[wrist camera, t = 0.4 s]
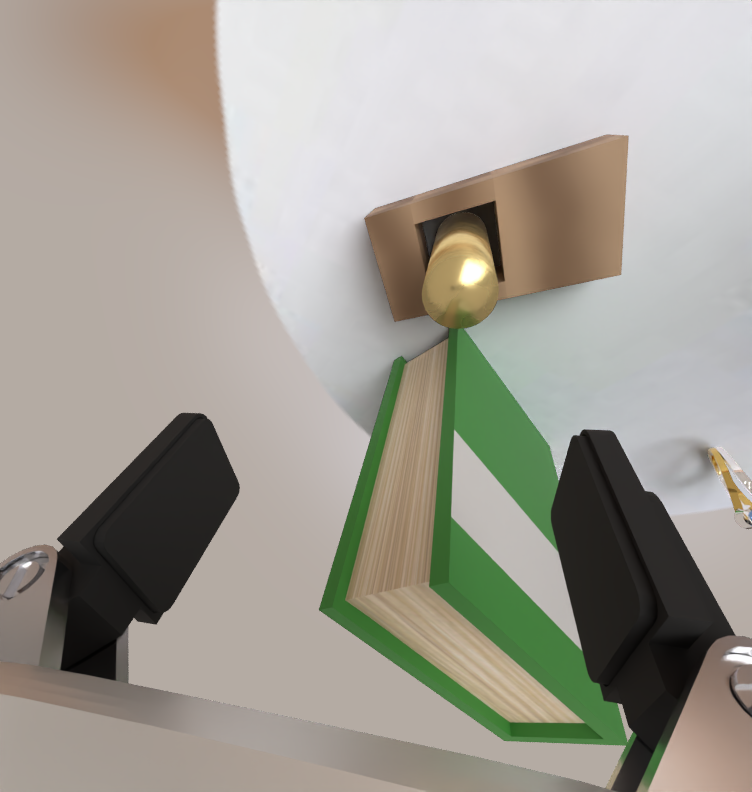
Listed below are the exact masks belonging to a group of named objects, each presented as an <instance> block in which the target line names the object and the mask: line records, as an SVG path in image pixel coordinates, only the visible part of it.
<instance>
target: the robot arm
mask: <svg viewBox="0 0 752 792" xmlns="http://www.w3.org/2000/svg"><path fill="white" fill-rule="evenodd" d="M239 489H240V487H239V483H238V480H237V478H236V476H235V473H234V471H233V469H232V467H231V464H230V462H229V460H228V458H227V455H226V453H225V451H224V449H223V446H222V444H221V442H220V440H219V437H218V435H217V433H216V431H215V428H214V426H213V424H212V422H211V421H210V420H209V419H207V417H206V416H205V415H204V414H200V413H198V414H197V413H181V414H179V415H178V416H177V417H176V418H175V419H174V420H173V421H172V422H171V423H170V424H169V425H168V426H167V427H166V428H165V429H164V430H163V431H162V432H161V433H160V434H159V435H158V436H157V437H156V438H155V439H154V440H153V441H152V442H151V443H150V444H149V445H148V446H147V447H146V448H145V449H144V450H143V451H142V452H141V453H140V454H139V455H138V456H137V457H136V459H135V460H134V461H133V462H132V463H131V464H130V465H129V466H128V467H127V468H126V469H125V470H124V471H123V472H122V473H121V474H120V475H119V476H118V477H117V478H116V479H115V480H114V481H113V482H112V483H111V484H110V485H109V486H108V487H107V488H106V489H105V490H104V491H103V492H102V493H101V494H100V495H99V496H98V497H97V498H96V499H95V500H94V501H93V503H92V504H91V505H90V506H89V507H88V508H87V509H86V510H85V511H84V512H83V513H82V514H81V515H80V516H79V517H78V518H77V519H76V520H75V521H74V522H73V523H72V524H71V525H70V526H69V527H68V528H67V529H66V530H65V531H64V532H63V533H62V534H61V535H60V536H59V537H58V538H57V540H58V541H59V542H60V543H61V544H62V545H63V546H64V547H63V548H62V549H61V550H60V551H59V552H58V551H57V550H56V549H55V548H54V547H52V546H48V545H37V546H33V547H30V548H27V549H24V550H22V551H20V552H18V553H16V554H14V555H12V556H10V557H9V558H7V559H6V560H4V561H3V562H1V563H0V792H752V638H749V637H745V636H736V635H735V634H734V632H733V630H732V628H731V626H730V625H729V623H728V621H727V619H726V617H725V616H724V614H723V612H722V610H721V609H720V607H719V605H718V603H717V601H716V599H715V598H714V596H713V594H712V592H711V590H710V589H709V587H708V585H707V584H706V581H705V580H704V578H703V576H702V574H701V572H700V571H699V569H698V567H697V565H696V563H695V561H694V560H693V558H692V556H691V554H690V552H689V551H688V549H687V547H686V545H685V544H684V542H683V540H682V538H681V536H680V534H679V533H678V531H677V529H676V527H675V525H674V524H673V522H672V520H671V518H670V516H669V515H668V513H667V511H666V509H665V507H664V505H663V504H662V502H661V501H660V499H659V498H658V496H656V495H655V494H654V493H652V492H647V491H644V489H643V487H642V485H641V483H640V481H639V479H638V477H637V475H636V473H635V471H634V470H633V468H632V466H631V464H630V462H629V460H628V458H627V456H626V454H625V452H624V450H623V449H622V447H621V445H620V443H619V441H618V439H617V437H616V435H615V434H614V432H612V431H608V430H582V432H581V433H580V436H577V435H574V436H573V437H572V438H571V441H570V445H569V448H568V452H567V455H566V459H565V462H564V466H563V469H562V473H561V476H560V480H559V483H558V487H557V490H556V494H555V497H554V501H553V504H552V508H551V524H552V528H553V532H554V536H555V540H556V545H557V549H558V553H559V557H560V561H561V565H562V569H563V573H564V578H565V582H566V586H567V590H568V594H569V598H570V602H571V606H572V610H573V615H574V619H575V623H576V627H577V631H578V635H579V639H580V643H581V647H582V652H583V656H584V660H585V664H586V668H587V672H588V675H589V677H590V679H591V681H592V682H594V683H598V684H600V688H601V692H602V696H603V700H604V701H607V702H613V703H619V704H622V705H623V709H624V712H625V715H626V719H627V722H628V725H629V728H631V730H632V731H633V733H632V735H631V737H630V739H629V741H628V743H627V745H626V747H625V749H624V752H623V754H622V755H621V758H620V759H619V762H618V764H617V766H616V768H615V770H614V772H613V774H612V776H611V778H610V780H609V782H608V784H607V786H606V788H602V787H599V786H595V785H592V784H588V783H585V782H581V781H577V780H573V779H569V778H564V777H560V776H556V775H552V774H547V773H543V772H538V771H535V770H530V769H526V768H522V767H517V766H513V765H508V764H505V763H501V762H496V761H492V760H488V759H484V758H479V757H475V756H470V755H465V754H460V753H456V752H451V751H447V750H442V749H437V748H433V747H428V746H423V745H419V744H414V743H409V742H404V741H400V740H396V739H391V738H386V737H382V736H377V735H372V734H368V733H363V732H358V731H353V730H349V729H344V728H339V727H335V726H330V725H325V724H321V723H316V722H311V721H306V720H302V719H297V718H292V717H287V716H283V715H278V714H273V713H268V712H264V711H259V710H254V709H249V708H245V707H240V706H235V705H230V704H225V703H220V702H216V701H211V700H206V699H202V698H197V697H191V696H187V695H182V694H177V693H172V692H168V691H163V690H158V689H153V688H148V687H143V686H138V685H133V684H128V626H129V624H130V623H131V621H132V620H133V618H135V619H136V620H137V621H139V622H144V623H150V624H157V623H158V621H159V619H160V618H161V616H162V614H163V613H164V612H166V611H167V610H169V609H170V608H171V606H172V605H173V603H174V602H175V600H176V599H177V597H178V595H179V593H180V592H181V590H182V588H183V587H184V585H185V583H186V582H187V580H188V578H189V577H190V575H191V573H192V572H193V570H194V568H195V567H196V565H197V563H198V562H199V560H200V558H201V557H202V555H203V553H204V552H205V550H206V548H207V547H208V544H209V543H210V542H211V540H212V538H213V536H214V535H215V533H216V532H217V530H218V528H219V526H220V525H221V523H222V521H223V520H224V518H225V516H226V515H227V513H228V511H229V510H230V508H231V506H232V505H233V503H234V501H235V500H236V497H237V496H238V494H239Z"/></svg>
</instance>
